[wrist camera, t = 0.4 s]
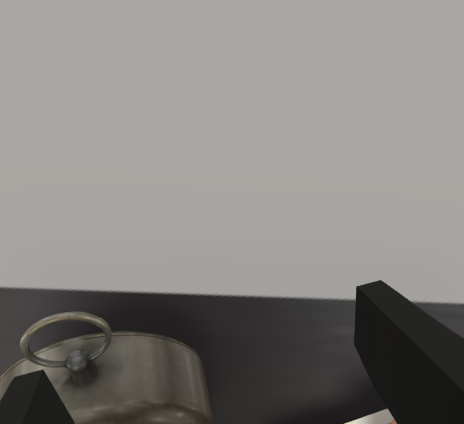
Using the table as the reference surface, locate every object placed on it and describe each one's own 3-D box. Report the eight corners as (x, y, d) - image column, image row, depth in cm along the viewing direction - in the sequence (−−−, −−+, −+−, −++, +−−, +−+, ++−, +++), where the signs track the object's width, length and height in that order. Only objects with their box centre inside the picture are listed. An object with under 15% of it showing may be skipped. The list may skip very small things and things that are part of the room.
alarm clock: (207, 409, 29) (190, 241, 19) (224, 499, 25) (214, 351, 15) (39, 448, 28) (-88, 287, 17) (28, 551, 24) (-146, 427, 13)
